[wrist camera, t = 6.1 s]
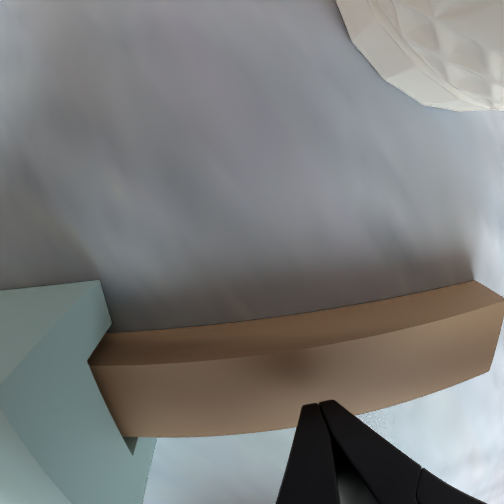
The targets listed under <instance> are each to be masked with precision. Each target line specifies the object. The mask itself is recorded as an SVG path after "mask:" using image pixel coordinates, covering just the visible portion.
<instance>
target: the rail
mask: <svg viewBox="0 0 504 504" xmlns="http://www.w3.org/2000/svg"><path fill="white" fill-rule="evenodd" d="M503 317H504V298H503V297H502V296H500V295H498V294H497V293H495V292H494V291H492V290H490V289H489V288H487V287H485V286H484V285H482V284H480V283H479V282H477V281H475V280H473V281H469V282H465V283H460V284H456V285H452V286H447V287H443V288H438V289H434V290H429V291H425V292H420V293H415V294H410V295H405V296H400V297H395V298H390V299H385V300H379V301H374V302H369V303H363V304H357V305H352V306H346V307H340V308H334V309H328V310H321V311H315V312H308V313H302V314H295V315H288V316H281V317H273V318H266V319H258V320H250V321H242V322H233V323H224V324H215V325H205V326H195V327H185V328H173V329H161V330H148V331H134V332H118V333H105V334H104V336H103V337H102V339H101V340H100V342H99V343H98V345H97V346H96V348H95V349H94V351H93V352H92V354H91V355H90V357H89V358H88V360H87V362H88V365H89V367H90V370H91V372H92V374H93V377H94V379H95V381H96V384H97V386H98V388H99V391H100V393H101V395H102V397H103V399H104V401H105V404H106V406H107V408H108V410H109V412H110V414H111V416H112V418H113V420H114V422H115V424H116V426H117V428H118V430H119V432H120V434H121V436H126V437H205V436H222V435H235V434H246V433H255V432H264V431H272V430H280V429H287V428H293V427H297V424H298V420H299V416H300V412H301V407H302V406H303V405H305V404H311V403H317V404H318V403H319V402H321V401H326V400H330V399H333V400H335V401H337V402H338V403H339V404H340V405H342V406H343V407H344V408H345V409H347V410H348V411H349V412H350V413H352V414H353V415H354V416H355V415H359V414H363V413H367V412H371V411H375V410H379V409H383V408H386V407H390V406H393V405H397V404H400V403H404V402H407V401H410V400H413V399H416V398H420V397H423V396H426V395H429V394H432V393H434V392H437V391H440V390H443V389H446V388H448V387H451V386H454V385H456V384H459V383H462V382H464V381H467V380H469V379H472V378H474V377H476V376H479V375H481V374H483V373H486V372H488V371H489V370H490V367H491V363H492V360H493V357H494V353H495V350H496V346H497V342H498V338H499V334H500V330H501V326H502V322H503Z"/></svg>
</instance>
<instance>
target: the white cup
mask: <svg viewBox="0 0 504 504" xmlns="http://www.w3.org/2000/svg"><path fill="white" fill-rule="evenodd" d="M336 3H337V6H338V8H339V10H340V13H341V15H342V18H343V20H344V23H345V25H346V28H347V31H348V33H349V36H350V39H351V41H352V43H353V44H354V45H355V46H356V47H357V48H358V50H359V51H360V52H361V53H362V54H363V55H364V56H365V58H366V59H367V60H368V61H369V62H370V64H371V65H372V66H373V67H374V68H375V70H376V71H377V72H378V73H379V75H380V76H381V77H382V78H383V80H385V81H386V82H388V83H390V84H391V85H393V86H394V87H396V88H398V89H399V90H401V91H402V92H404V93H405V94H407V95H408V96H410V97H411V98H413V99H414V100H416V101H417V102H419V103H420V104H422V105H425V106H431V107H437V108H442V109H448V110H453V111H458V112H461V111H477V110H494V109H495V110H499V111H504V0H336Z"/></svg>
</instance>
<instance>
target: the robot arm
mask: <svg viewBox="0 0 504 504" xmlns="http://www.w3.org/2000/svg"><path fill="white" fill-rule="evenodd" d="M421 468H422V467H421V466H420V465H419V464H418V463H416V462H415V461H414V460H412V459H411V458H409V457H408V456H407V455H405V454H404V453H403V452H401V451H400V450H399V449H397V448H396V447H395V446H393V445H392V444H391V443H389V442H388V441H387V440H385V439H384V438H383V437H381V436H380V435H379V434H377V433H376V432H375V431H373V430H372V429H371V428H370V427H368V426H367V425H366V424H364V423H363V422H362V421H361V420H359V419H358V418H357V417H356V416H354V415H353V414H352V413H350V412H349V411H348V410H347V409H345V408H344V407H343V406H342V405H340V404H339V403H338V402H337V401H335V400H333V399H330V400H326V401H321V402H319V403H318V404H317V403H311V404H305V405H303V406H302V407H301V412H300V416H299V420H298V424H297V428H296V432H295V436H294V440H293V444H292V447H291V451H290V455H289V459H288V462H287V466H286V470H285V473H284V477H283V480H282V484H281V487H280V490H279V494H278V497H277V500H276V504H487V503H485V502H483V501H480V500H478V499H476V498H474V497H472V496H470V495H468V494H466V493H464V492H462V491H460V490H458V489H456V488H454V487H452V486H450V485H449V484H447V483H446V482H444V481H442V480H441V479H439V478H438V477H436V476H435V475H433V474H432V473H430V472H429V471H428V470H426V469H425V468H422V469H421Z"/></svg>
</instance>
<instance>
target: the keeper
mask: <svg viewBox="0 0 504 504" xmlns="http://www.w3.org/2000/svg"><path fill="white" fill-rule="evenodd" d="M111 324H112V322H111V318H110V315H109V312H108V308H107V305H106V301H105V298H104V294H103V290H102V287H101V283H100V280H93V281H85V282H76V283H67V284H58V285H49V286H40V287H30V288H21V289H12V290H2V291H0V504H142V503H143V498H144V493H145V488H146V484H147V479H148V474H149V470H150V465H151V461H152V457H153V452H154V448H155V444H156V437H126V436H121V434H120V432H119V430H118V428H117V426H116V424H115V422H114V420H113V418H112V416H111V414H110V412H109V410H108V408H107V406H106V404H105V401H104V399H103V397H102V395H101V393H100V391H99V388H98V386H97V384H96V381H95V379H94V377H93V374H92V372H91V370H90V367H89V365H88V362H87V360H88V358H89V357H90V355H91V354H92V352H93V351H94V349H95V348H96V346H97V345H98V343H99V342H100V340H101V339H102V337H103V336H104V334H105V333H106V331H107V330H108V329H109V327H110V326H111Z"/></svg>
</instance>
